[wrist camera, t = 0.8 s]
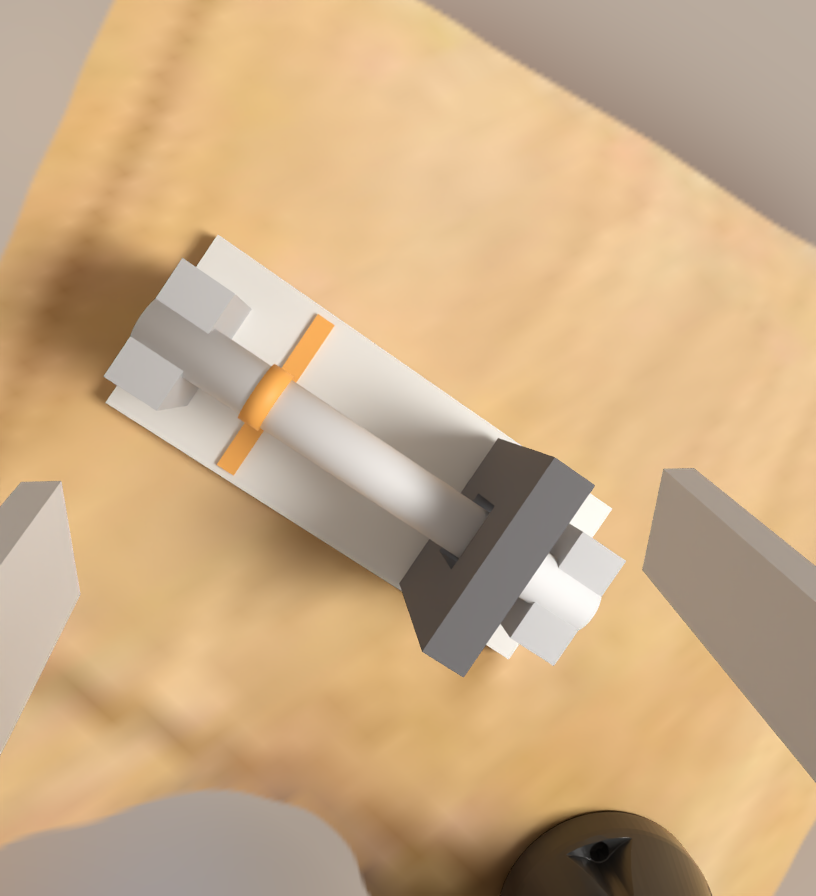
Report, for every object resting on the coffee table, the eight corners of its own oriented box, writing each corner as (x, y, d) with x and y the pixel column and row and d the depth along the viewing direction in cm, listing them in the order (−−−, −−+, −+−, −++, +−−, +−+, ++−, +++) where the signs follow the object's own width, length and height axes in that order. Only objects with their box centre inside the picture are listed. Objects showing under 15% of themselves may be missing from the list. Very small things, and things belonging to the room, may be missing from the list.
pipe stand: (604, 505, 46) (672, 536, 37) (504, 652, 46) (546, 718, 37) (220, 238, 42) (190, 199, 33) (111, 402, 42) (51, 407, 33)
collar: (528, 459, 43) (595, 485, 32) (430, 603, 43) (463, 677, 33) (498, 438, 43) (554, 457, 32) (399, 583, 43) (422, 651, 32)
